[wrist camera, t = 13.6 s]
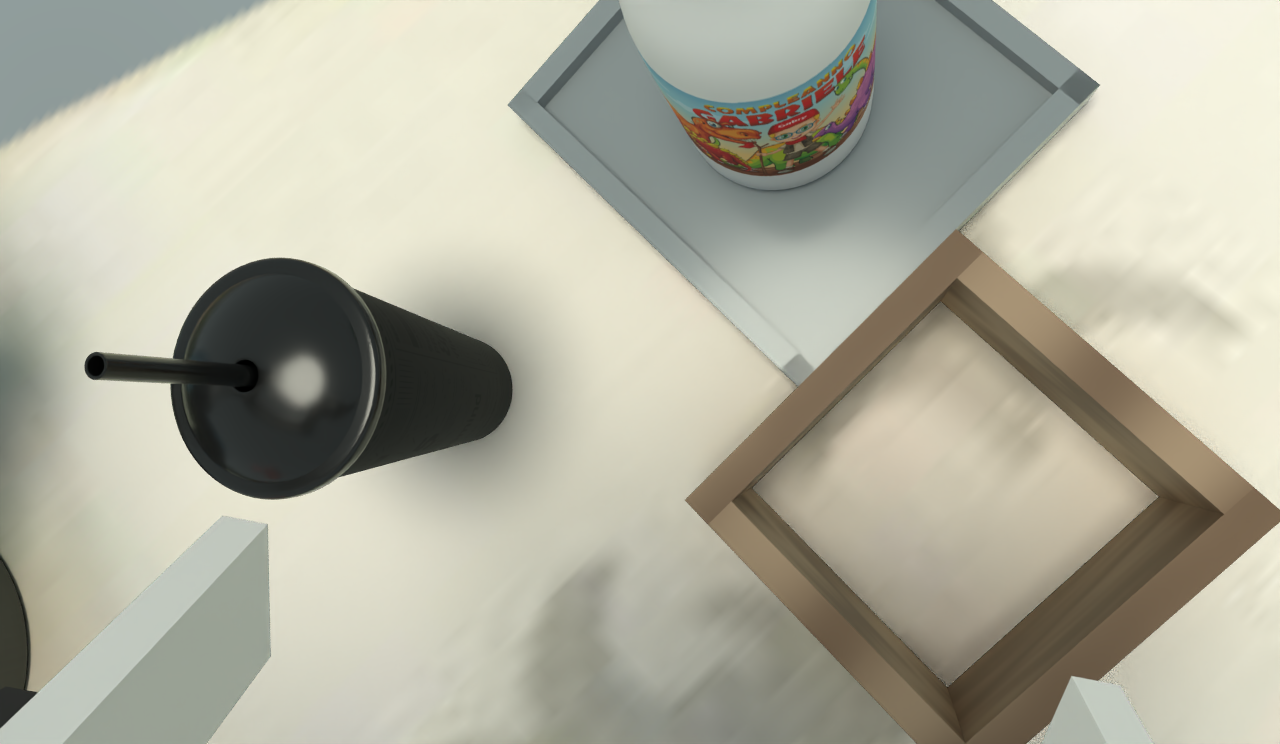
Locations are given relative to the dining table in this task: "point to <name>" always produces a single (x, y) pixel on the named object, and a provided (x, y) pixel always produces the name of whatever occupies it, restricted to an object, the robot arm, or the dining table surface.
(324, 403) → the drinking cup
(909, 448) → the dining table surface
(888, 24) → the tray
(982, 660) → the holder
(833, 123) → the milk bottle
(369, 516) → the dining table surface
